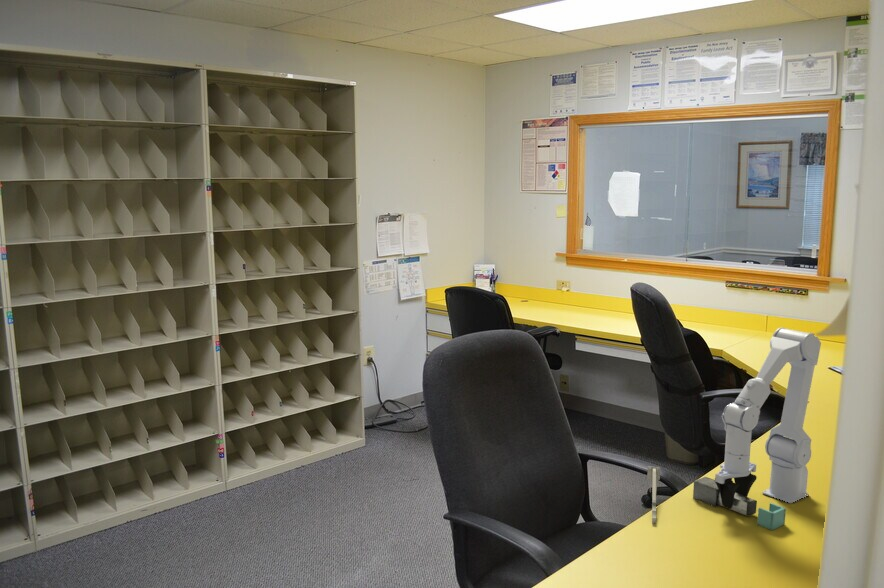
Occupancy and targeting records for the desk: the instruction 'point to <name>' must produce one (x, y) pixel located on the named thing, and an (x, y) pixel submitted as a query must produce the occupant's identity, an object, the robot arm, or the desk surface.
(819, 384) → the desk surface
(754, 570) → the desk surface
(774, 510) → the socket
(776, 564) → the desk surface
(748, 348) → the desk surface
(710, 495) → the sleeve
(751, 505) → the long grey plank
